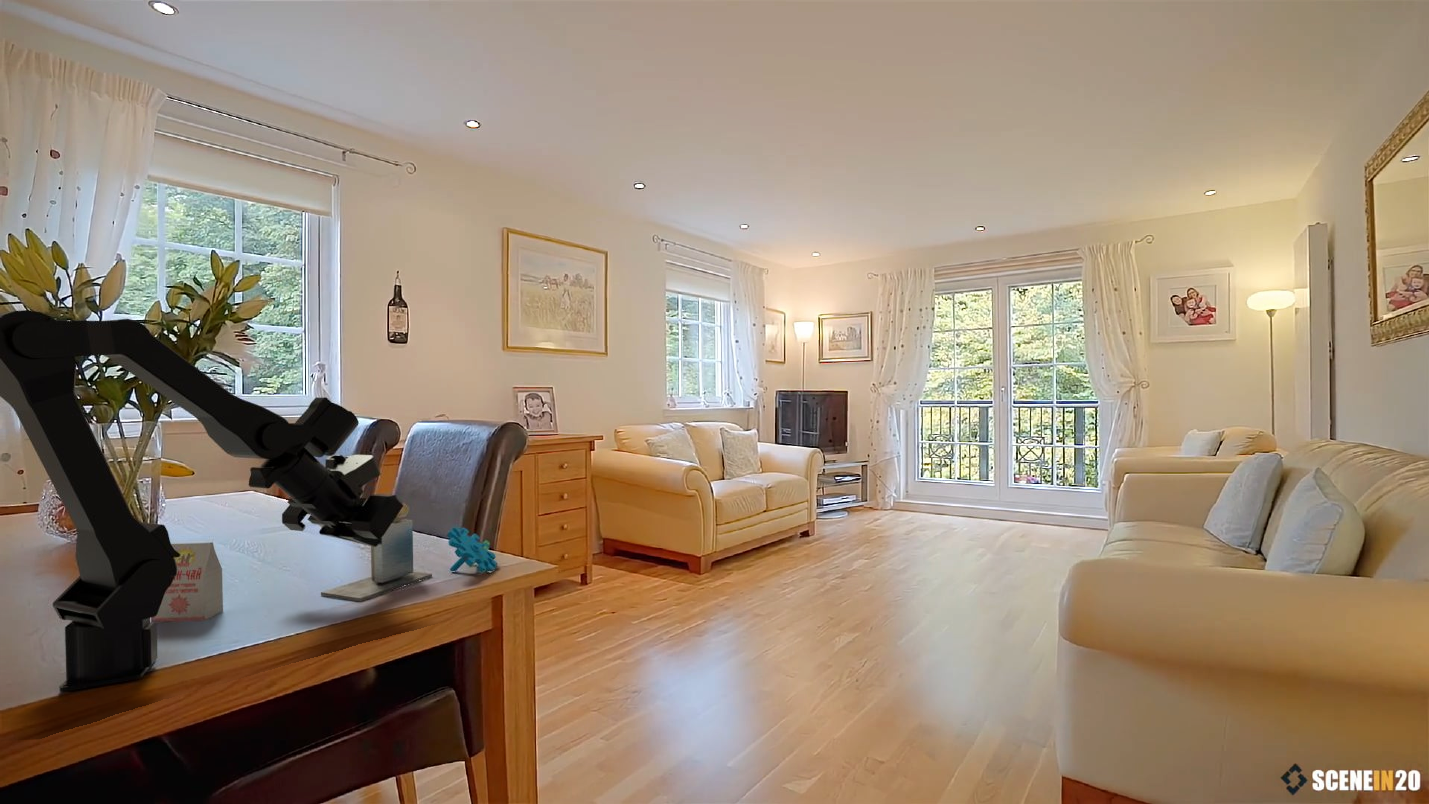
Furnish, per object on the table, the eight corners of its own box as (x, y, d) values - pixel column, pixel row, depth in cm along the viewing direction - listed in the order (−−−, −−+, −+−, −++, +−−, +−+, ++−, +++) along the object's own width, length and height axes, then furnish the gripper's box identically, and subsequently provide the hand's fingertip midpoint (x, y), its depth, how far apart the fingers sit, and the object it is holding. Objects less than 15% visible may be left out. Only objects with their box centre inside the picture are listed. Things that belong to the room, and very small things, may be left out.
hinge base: (360, 601, 96) (358, 519, 96) (321, 595, 99) (319, 515, 99) (432, 576, 109) (430, 503, 108) (395, 572, 112) (394, 501, 111)
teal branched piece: (482, 571, 106) (442, 525, 107) (456, 597, 106) (416, 551, 107) (511, 562, 117) (475, 521, 118) (487, 586, 117) (451, 545, 118)
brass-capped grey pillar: (379, 583, 102) (377, 511, 102) (362, 581, 104) (361, 509, 103) (413, 572, 108) (412, 504, 108) (397, 570, 110) (396, 503, 109)
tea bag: (171, 612, 92) (169, 540, 92) (223, 610, 93) (221, 539, 93) (151, 621, 89) (149, 546, 88) (204, 620, 89) (203, 545, 89)
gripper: (391, 439, 94) (450, 504, 104) (299, 436, 101) (363, 498, 111) (342, 504, 87) (411, 567, 97) (247, 496, 94) (321, 556, 104)
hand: (376, 544), depth 103 cm, fingers closed, pressing on brass-capped grey pillar
